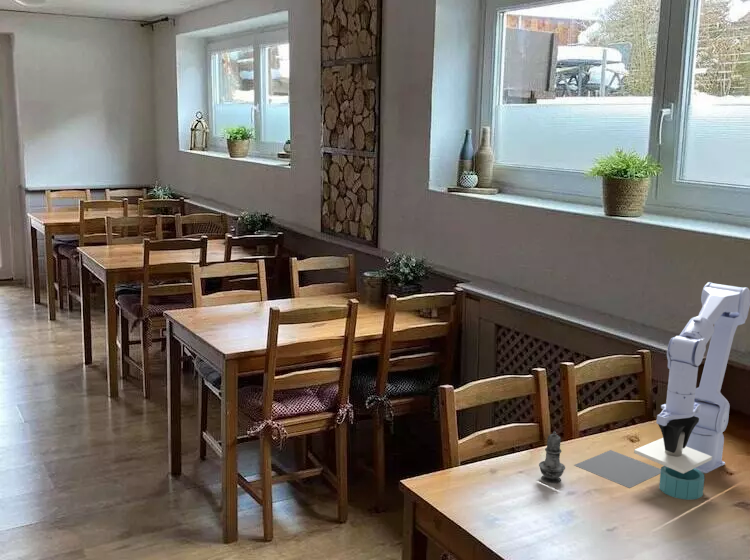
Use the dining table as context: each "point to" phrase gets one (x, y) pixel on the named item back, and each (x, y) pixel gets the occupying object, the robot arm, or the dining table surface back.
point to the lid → (673, 455)
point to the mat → (619, 468)
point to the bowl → (682, 483)
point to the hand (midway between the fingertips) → (675, 448)
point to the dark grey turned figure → (552, 461)
